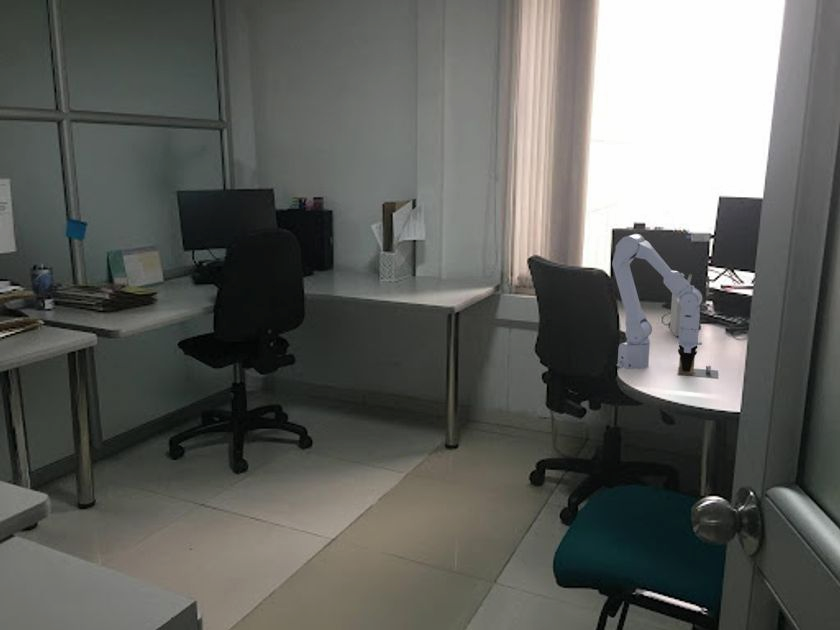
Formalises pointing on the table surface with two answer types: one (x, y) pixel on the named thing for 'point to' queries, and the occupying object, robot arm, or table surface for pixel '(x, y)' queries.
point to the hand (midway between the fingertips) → (686, 369)
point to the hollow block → (685, 371)
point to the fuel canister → (676, 313)
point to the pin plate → (701, 373)
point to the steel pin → (708, 369)
